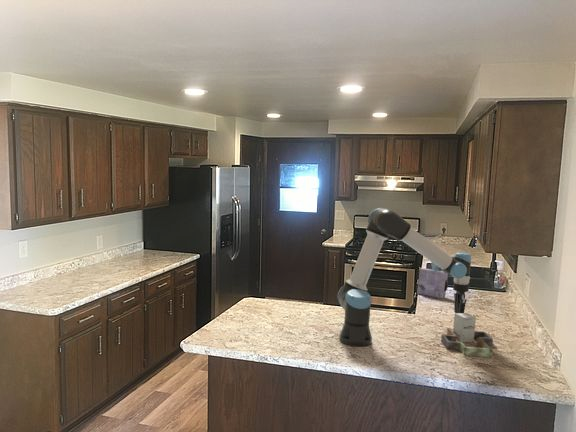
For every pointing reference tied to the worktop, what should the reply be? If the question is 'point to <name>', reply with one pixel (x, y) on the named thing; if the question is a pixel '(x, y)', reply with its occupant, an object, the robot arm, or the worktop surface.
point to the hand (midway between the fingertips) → (457, 327)
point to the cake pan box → (432, 283)
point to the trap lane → (482, 342)
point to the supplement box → (464, 327)
